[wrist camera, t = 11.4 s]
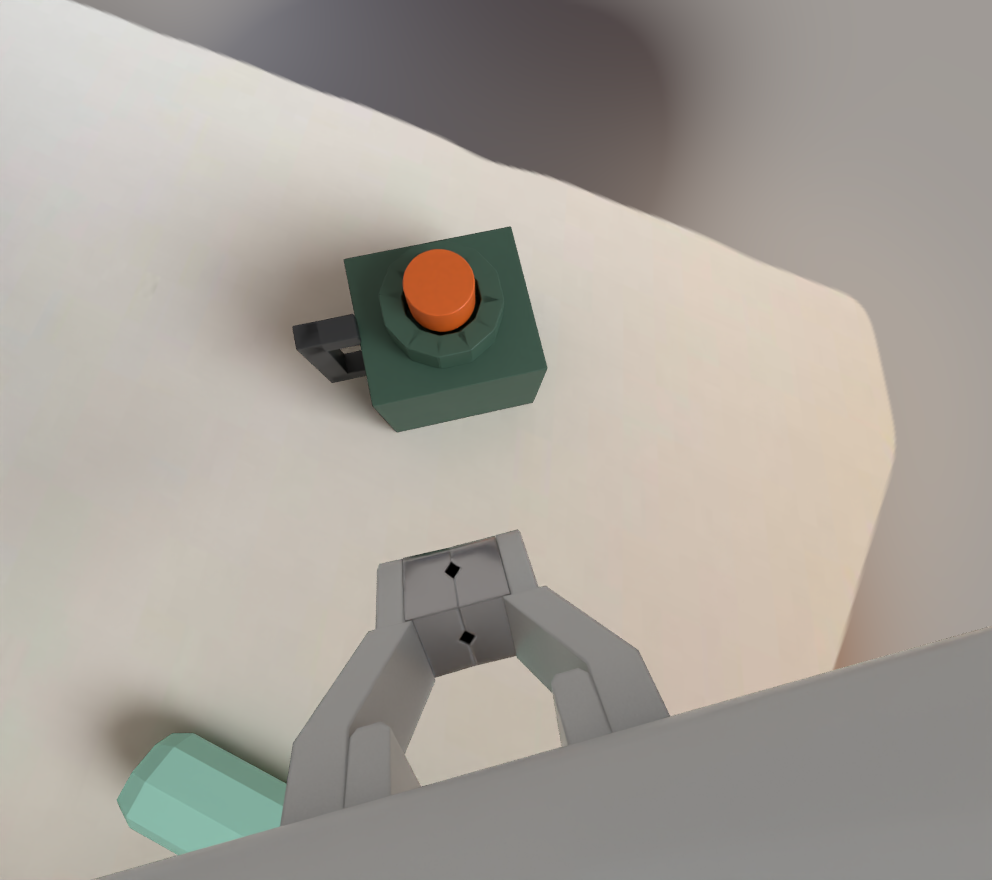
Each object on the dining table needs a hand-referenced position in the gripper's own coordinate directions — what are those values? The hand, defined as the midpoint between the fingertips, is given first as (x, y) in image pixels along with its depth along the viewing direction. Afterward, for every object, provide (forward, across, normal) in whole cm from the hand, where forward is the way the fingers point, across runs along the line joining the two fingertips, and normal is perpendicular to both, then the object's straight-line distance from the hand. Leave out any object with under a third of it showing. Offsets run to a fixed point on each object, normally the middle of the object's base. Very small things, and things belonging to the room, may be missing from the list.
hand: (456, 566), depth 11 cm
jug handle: (+25, +5, +5) cm, 26 cm away
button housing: (+26, -2, +7) cm, 27 cm away
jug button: (+19, -1, 0) cm, 19 cm away
